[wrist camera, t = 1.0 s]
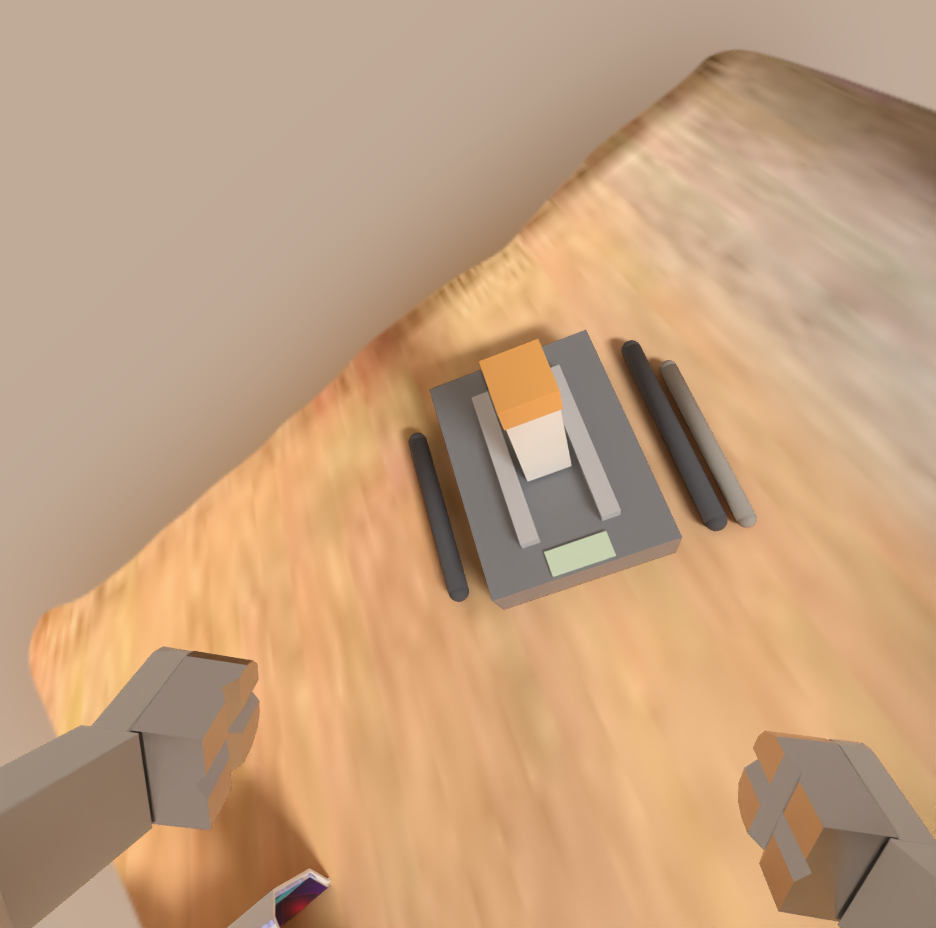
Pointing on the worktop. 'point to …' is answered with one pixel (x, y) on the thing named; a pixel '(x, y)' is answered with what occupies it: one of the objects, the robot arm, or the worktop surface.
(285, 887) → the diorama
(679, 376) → the cords
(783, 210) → the worktop surface
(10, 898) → the robot arm
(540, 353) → the lever
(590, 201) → the worktop surface
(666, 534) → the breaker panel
